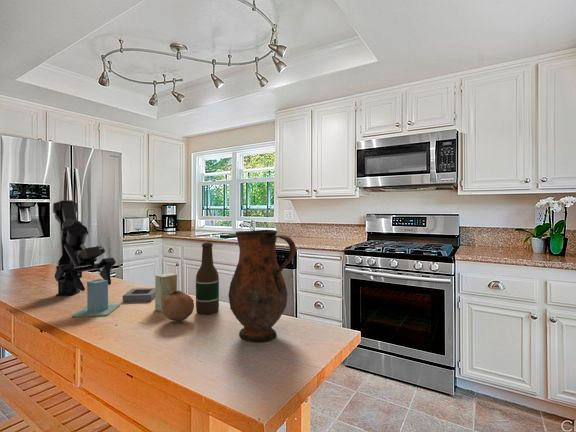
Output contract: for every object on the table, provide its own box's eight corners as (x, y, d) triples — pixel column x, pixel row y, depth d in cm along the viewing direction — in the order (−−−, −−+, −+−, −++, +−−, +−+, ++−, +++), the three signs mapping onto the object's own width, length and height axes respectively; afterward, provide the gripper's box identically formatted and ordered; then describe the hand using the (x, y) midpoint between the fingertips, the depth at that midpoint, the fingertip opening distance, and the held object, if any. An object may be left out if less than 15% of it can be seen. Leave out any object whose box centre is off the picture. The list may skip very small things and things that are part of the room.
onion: (160, 328, 95) (160, 295, 95) (164, 318, 105) (163, 287, 104) (193, 325, 98) (193, 293, 98) (194, 315, 107) (194, 285, 107)
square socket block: (122, 302, 121) (122, 295, 121) (132, 294, 132) (132, 288, 132) (151, 301, 123) (151, 294, 123) (158, 293, 133) (158, 287, 133)
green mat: (72, 317, 105) (72, 315, 105) (88, 306, 116) (88, 305, 116) (107, 315, 106) (107, 314, 106) (120, 305, 117) (120, 304, 117)
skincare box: (161, 312, 110) (161, 277, 110) (154, 309, 113) (154, 275, 113) (177, 307, 115) (177, 274, 115) (170, 305, 118) (170, 272, 118)
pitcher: (255, 320, 103) (255, 227, 102) (310, 336, 90) (311, 230, 89) (215, 337, 90) (214, 230, 89) (273, 359, 77) (274, 234, 76)
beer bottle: (191, 313, 110) (190, 243, 109) (206, 306, 117) (206, 241, 116) (208, 316, 106) (208, 244, 105) (223, 309, 113) (223, 242, 112)
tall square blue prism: (87, 310, 110) (87, 281, 110) (100, 306, 114) (99, 279, 114) (95, 312, 108) (95, 283, 108) (108, 308, 112) (107, 280, 112)
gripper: (58, 240, 104) (79, 278, 100) (112, 236, 121) (132, 267, 116) (46, 262, 108) (65, 299, 104) (99, 255, 125) (118, 286, 120)
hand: (97, 287), depth 111 cm, fingers open, 9 cm apart
